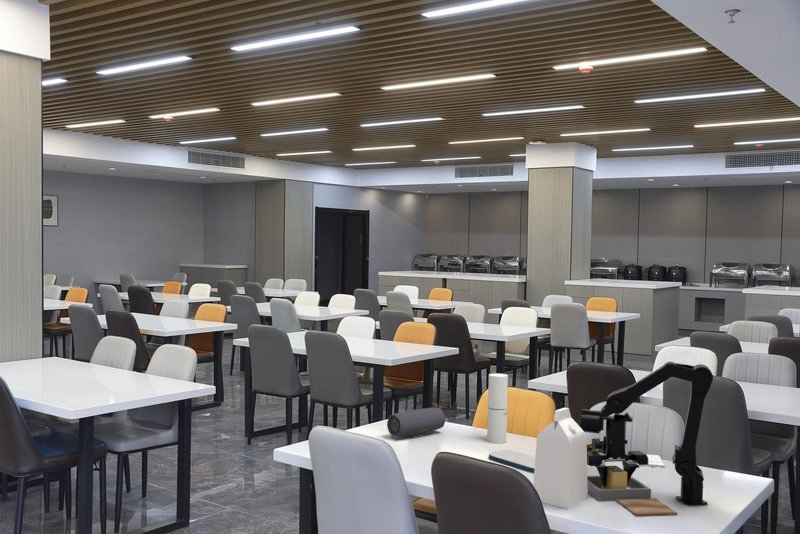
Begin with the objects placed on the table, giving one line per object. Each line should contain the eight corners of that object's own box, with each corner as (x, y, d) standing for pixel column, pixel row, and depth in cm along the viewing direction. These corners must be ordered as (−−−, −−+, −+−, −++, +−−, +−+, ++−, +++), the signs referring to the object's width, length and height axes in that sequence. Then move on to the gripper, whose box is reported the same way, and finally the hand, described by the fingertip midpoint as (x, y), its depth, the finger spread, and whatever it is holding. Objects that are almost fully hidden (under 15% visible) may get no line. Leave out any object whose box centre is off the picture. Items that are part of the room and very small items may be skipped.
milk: (551, 489, 221) (553, 403, 221) (587, 498, 214) (589, 409, 214) (532, 499, 212) (534, 409, 212) (568, 508, 205) (571, 415, 204)
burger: (572, 462, 252) (572, 440, 252) (572, 453, 264) (573, 432, 264) (608, 465, 250) (609, 443, 249) (607, 456, 261) (607, 435, 261)
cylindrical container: (483, 439, 280) (485, 374, 280) (499, 438, 283) (501, 373, 283) (493, 444, 274) (495, 377, 273) (510, 442, 277) (511, 376, 276)
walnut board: (677, 514, 202) (677, 512, 202) (636, 516, 200) (636, 514, 200) (655, 500, 213) (655, 498, 213) (616, 501, 212) (616, 499, 212)
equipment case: (650, 499, 214) (650, 489, 214) (598, 501, 212) (598, 490, 212) (608, 470, 242) (608, 461, 242) (561, 471, 240) (562, 462, 240)
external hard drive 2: (659, 459, 259) (664, 469, 247) (635, 458, 261) (639, 467, 249) (659, 455, 259) (665, 465, 247) (635, 453, 261) (639, 463, 249)
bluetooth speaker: (429, 429, 296) (430, 404, 295) (445, 433, 288) (446, 408, 288) (385, 437, 281) (386, 411, 281) (401, 442, 274) (401, 415, 274)
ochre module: (626, 496, 217) (627, 471, 217) (612, 496, 216) (612, 471, 216) (616, 488, 224) (616, 464, 224) (602, 489, 223) (602, 464, 223)
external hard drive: (560, 470, 243) (561, 464, 243) (538, 476, 236) (538, 470, 236) (507, 454, 262) (507, 448, 262) (484, 459, 254) (484, 453, 254)
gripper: (632, 428, 229) (631, 478, 229) (575, 429, 226) (574, 479, 226) (650, 436, 218) (648, 489, 218) (590, 438, 215) (588, 491, 215)
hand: (614, 487), depth 220 cm, fingers open, 6 cm apart
